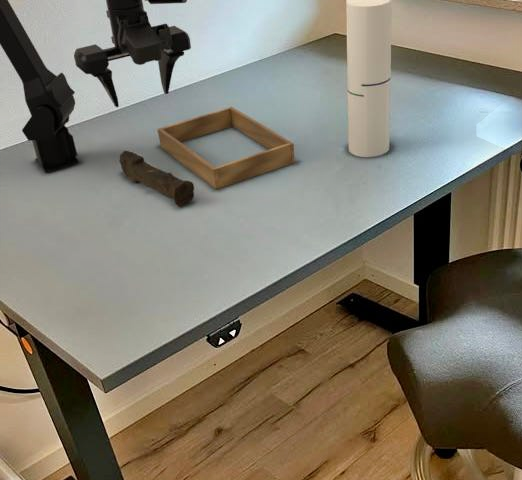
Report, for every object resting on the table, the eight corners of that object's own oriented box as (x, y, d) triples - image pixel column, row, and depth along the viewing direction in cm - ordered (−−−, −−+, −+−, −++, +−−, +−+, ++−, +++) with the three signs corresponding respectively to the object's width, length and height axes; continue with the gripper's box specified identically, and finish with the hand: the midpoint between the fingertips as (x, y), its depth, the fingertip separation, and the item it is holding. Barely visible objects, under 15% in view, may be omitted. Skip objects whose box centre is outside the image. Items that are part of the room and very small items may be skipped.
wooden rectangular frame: (215, 189, 133) (213, 169, 131) (160, 147, 149) (157, 128, 147) (295, 162, 139) (294, 143, 137) (233, 124, 155) (231, 106, 152)
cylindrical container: (387, 157, 137) (390, 5, 122) (346, 156, 139) (343, 7, 124) (390, 140, 143) (393, -8, 127) (351, 139, 144) (348, -6, 129)
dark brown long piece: (197, 201, 131) (193, 174, 128) (177, 209, 129) (173, 183, 126) (136, 168, 143) (132, 143, 140) (117, 175, 141) (112, 150, 138)
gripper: (86, 28, 118) (106, 128, 128) (198, 3, 125) (210, 100, 134) (63, 12, 126) (84, 108, 136) (170, -11, 133) (183, 82, 142)
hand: (141, 99), depth 137 cm, fingers open, 9 cm apart
